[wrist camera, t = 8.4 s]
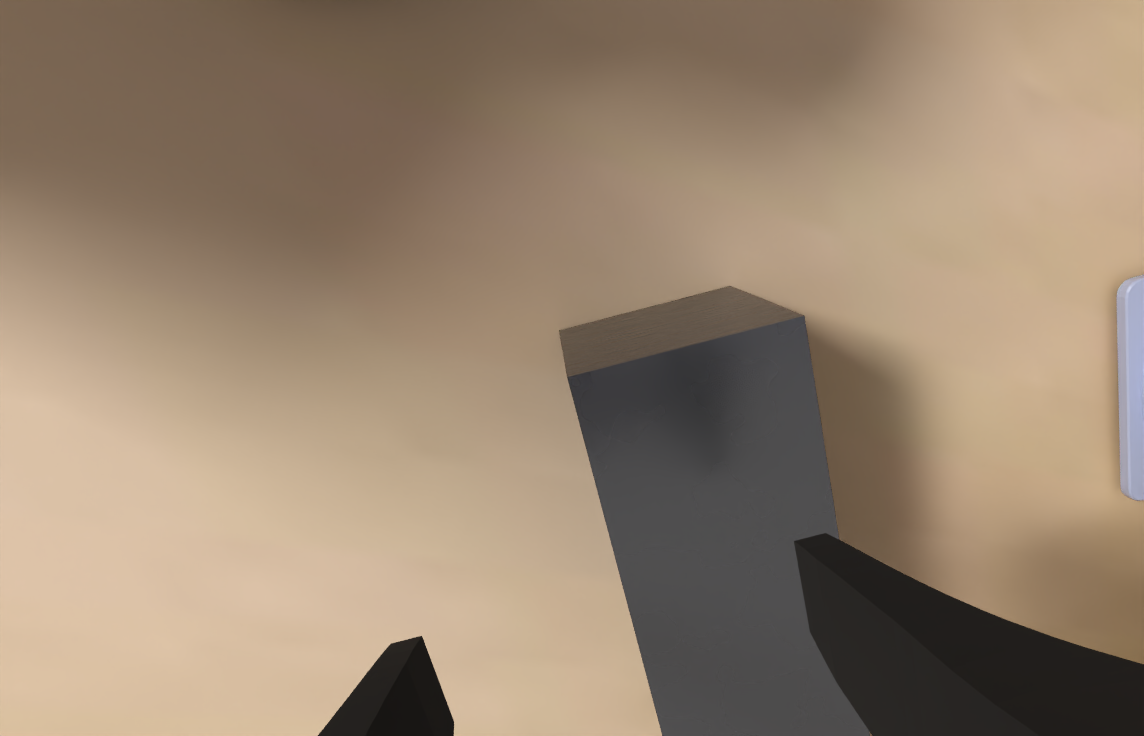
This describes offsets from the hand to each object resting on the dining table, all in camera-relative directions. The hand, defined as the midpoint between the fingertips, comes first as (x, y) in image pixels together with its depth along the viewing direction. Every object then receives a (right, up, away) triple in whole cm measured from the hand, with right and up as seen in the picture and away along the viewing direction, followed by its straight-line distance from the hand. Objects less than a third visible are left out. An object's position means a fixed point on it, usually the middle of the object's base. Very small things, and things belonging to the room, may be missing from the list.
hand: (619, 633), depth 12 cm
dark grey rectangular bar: (+3, 0, +10) cm, 10 cm away
